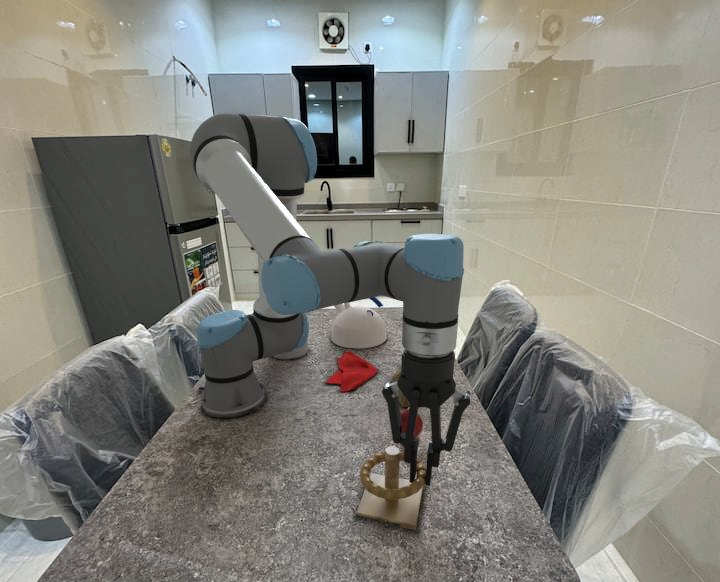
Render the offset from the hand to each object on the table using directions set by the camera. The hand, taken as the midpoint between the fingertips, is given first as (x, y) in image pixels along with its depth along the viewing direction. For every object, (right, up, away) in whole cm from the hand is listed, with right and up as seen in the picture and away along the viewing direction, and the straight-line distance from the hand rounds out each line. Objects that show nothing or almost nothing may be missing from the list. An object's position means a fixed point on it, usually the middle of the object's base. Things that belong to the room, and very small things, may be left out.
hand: (420, 478), depth 64 cm
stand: (-5, -5, +4) cm, 8 cm away
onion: (+1, +2, +21) cm, 21 cm away
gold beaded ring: (-4, 0, +1) cm, 5 cm away
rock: (0, +9, +37) cm, 38 cm away
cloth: (-12, +15, +51) cm, 55 cm away
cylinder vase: (-34, +21, +65) cm, 76 cm away
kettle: (-11, +26, +76) cm, 81 cm away
